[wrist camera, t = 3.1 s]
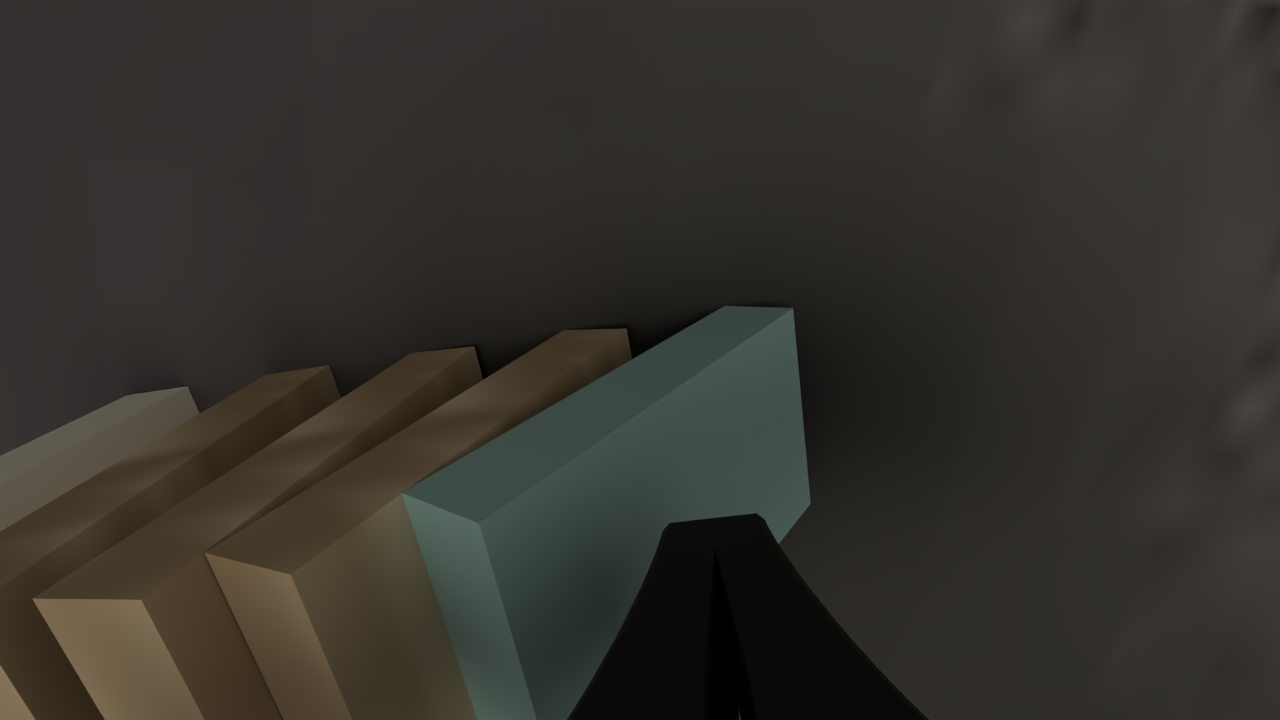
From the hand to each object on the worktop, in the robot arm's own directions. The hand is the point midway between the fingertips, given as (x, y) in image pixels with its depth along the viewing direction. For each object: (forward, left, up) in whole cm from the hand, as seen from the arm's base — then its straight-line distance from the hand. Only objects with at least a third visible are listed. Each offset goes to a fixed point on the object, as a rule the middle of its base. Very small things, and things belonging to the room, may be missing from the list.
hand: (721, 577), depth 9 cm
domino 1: (-1, -1, -6) cm, 6 cm away
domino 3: (+4, +4, -6) cm, 8 cm away
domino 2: (+1, +2, -6) cm, 6 cm away
